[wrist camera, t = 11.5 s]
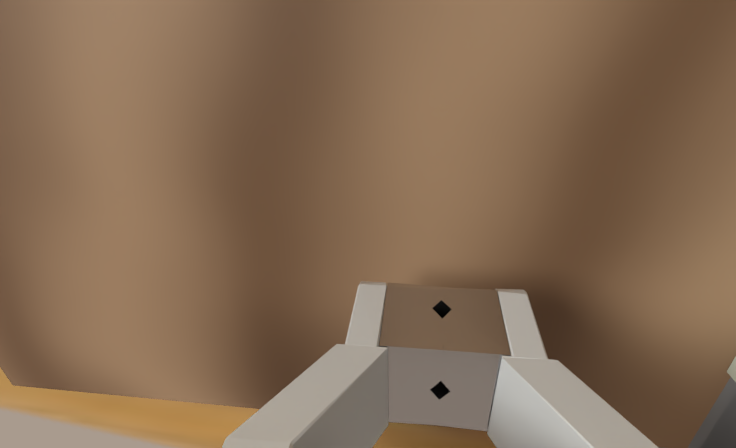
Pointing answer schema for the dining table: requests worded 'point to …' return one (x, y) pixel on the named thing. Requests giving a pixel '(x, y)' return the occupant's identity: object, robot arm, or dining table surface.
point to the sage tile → (732, 370)
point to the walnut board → (365, 187)
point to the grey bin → (719, 422)
